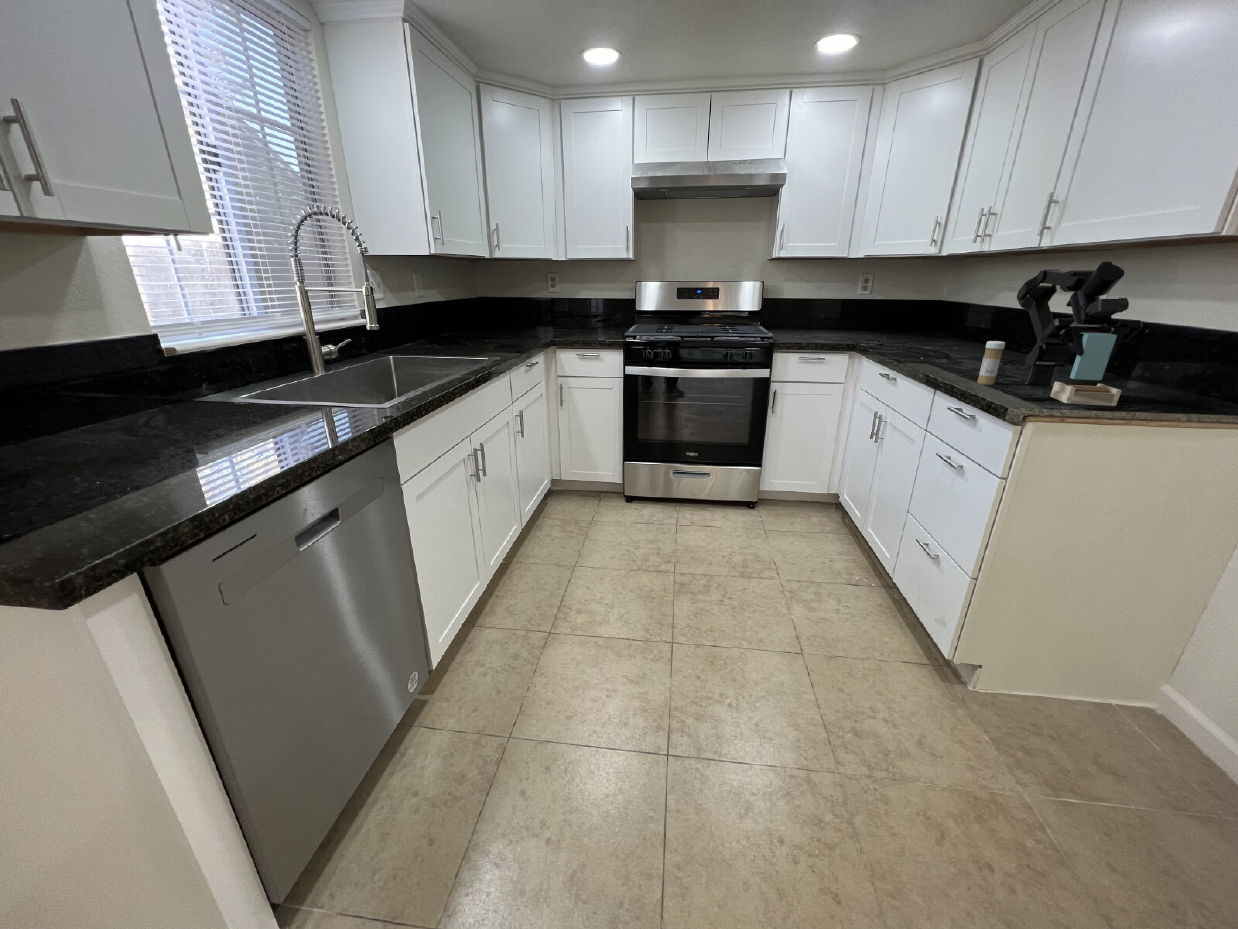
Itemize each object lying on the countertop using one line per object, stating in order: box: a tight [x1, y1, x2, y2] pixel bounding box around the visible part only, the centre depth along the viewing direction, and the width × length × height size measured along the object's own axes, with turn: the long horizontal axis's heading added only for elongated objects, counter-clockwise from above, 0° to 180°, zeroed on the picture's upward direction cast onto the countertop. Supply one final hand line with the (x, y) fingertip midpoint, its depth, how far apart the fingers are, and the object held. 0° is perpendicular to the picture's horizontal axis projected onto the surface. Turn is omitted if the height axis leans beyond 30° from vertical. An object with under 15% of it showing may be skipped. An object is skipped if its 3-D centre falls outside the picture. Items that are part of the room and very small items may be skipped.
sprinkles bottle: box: [976, 340, 1006, 386], centre depth 150 cm, size 5×5×13 cm
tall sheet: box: [1069, 334, 1117, 381], centre depth 128 cm, size 2×6×12 cm, turn 73°
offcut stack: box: [1068, 384, 1110, 393], centre depth 129 cm, size 3×8×4 cm, turn 73°
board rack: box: [1050, 381, 1122, 407], centre depth 130 cm, size 8×11×5 cm
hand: (1096, 355), depth 127 cm, fingers closed on tall sheet, 6 cm apart
